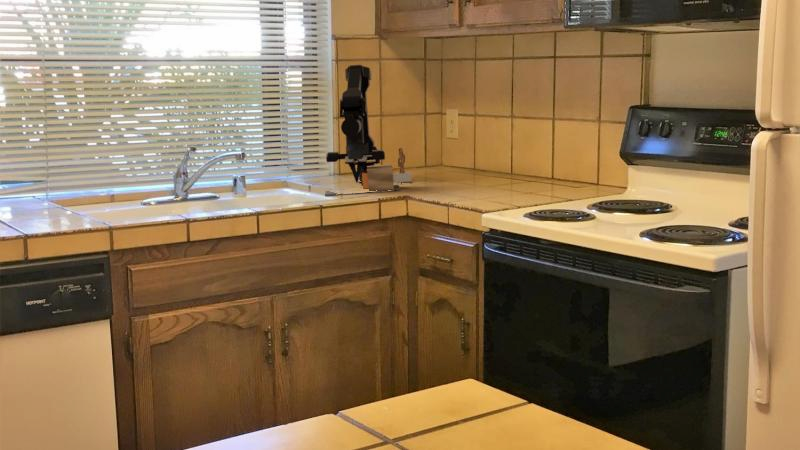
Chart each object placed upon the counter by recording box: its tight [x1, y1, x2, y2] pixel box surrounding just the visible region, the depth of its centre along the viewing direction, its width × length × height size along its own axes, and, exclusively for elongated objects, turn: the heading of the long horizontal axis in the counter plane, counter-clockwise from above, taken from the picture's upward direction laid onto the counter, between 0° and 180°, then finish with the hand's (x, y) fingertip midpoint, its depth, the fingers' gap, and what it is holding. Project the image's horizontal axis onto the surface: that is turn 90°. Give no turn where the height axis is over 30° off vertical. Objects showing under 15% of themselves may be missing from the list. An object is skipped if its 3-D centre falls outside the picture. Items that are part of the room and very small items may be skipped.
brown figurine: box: [397, 147, 412, 185], centre depth 310 cm, size 9×4×12 cm, turn 15°
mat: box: [324, 184, 401, 197], centre depth 295 cm, size 11×24×1 cm, turn 93°
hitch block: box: [367, 163, 395, 191], centre depth 294 cm, size 10×8×7 cm
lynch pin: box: [361, 171, 412, 189], centre depth 294 cm, size 5×16×5 cm, turn 93°
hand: (356, 182), depth 294 cm, fingers closed
